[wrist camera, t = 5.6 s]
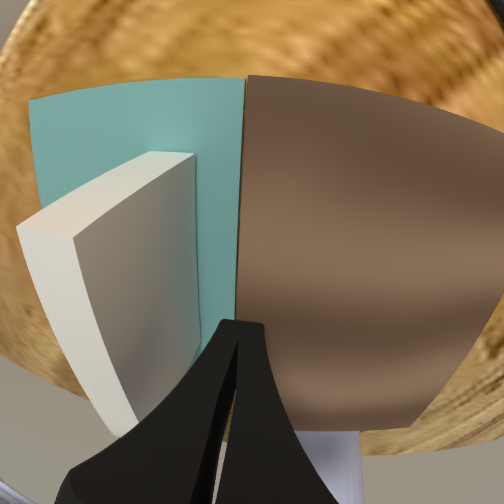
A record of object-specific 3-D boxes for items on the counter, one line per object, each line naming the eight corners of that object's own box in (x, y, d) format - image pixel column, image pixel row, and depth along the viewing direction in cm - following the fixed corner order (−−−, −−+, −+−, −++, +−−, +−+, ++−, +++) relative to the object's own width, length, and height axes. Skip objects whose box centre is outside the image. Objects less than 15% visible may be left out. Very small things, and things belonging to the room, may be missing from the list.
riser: (397, 377, 18) (409, 427, 14) (241, 370, 18) (233, 425, 15) (493, 132, 9) (551, 157, 6) (259, 79, 10) (247, 75, 7)
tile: (153, 450, 10) (113, 435, 11) (200, 340, 16) (167, 332, 16) (72, 237, 5) (16, 226, 5) (195, 153, 11) (149, 150, 11)
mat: (233, 369, 18) (232, 374, 18) (87, 341, 19) (85, 345, 18) (246, 78, 10) (244, 78, 10) (33, 100, 11) (28, 101, 10)
